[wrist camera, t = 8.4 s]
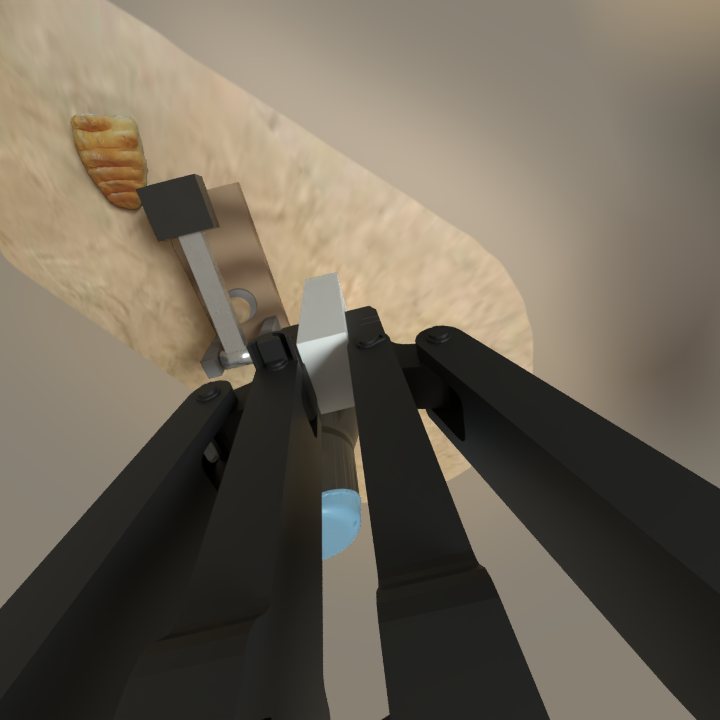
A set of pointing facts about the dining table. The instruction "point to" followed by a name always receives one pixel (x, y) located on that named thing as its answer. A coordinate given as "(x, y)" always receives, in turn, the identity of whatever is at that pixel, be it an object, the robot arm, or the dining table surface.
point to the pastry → (112, 156)
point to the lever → (197, 253)
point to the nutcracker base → (238, 272)
